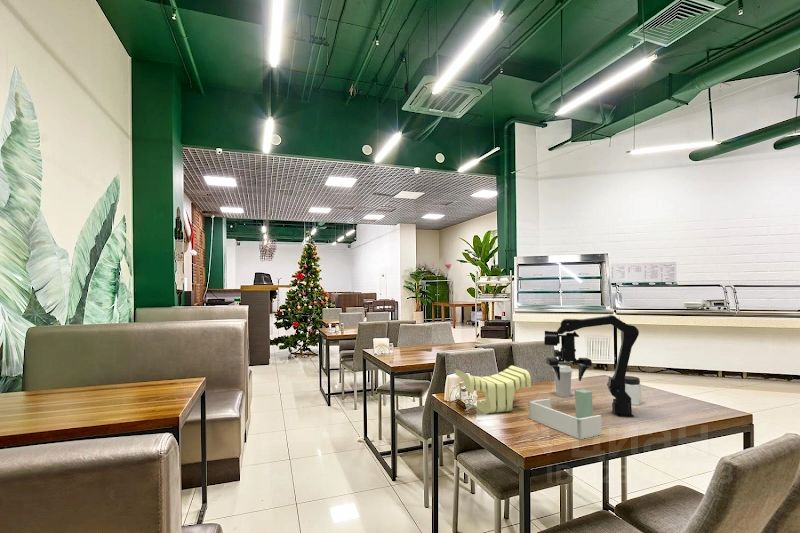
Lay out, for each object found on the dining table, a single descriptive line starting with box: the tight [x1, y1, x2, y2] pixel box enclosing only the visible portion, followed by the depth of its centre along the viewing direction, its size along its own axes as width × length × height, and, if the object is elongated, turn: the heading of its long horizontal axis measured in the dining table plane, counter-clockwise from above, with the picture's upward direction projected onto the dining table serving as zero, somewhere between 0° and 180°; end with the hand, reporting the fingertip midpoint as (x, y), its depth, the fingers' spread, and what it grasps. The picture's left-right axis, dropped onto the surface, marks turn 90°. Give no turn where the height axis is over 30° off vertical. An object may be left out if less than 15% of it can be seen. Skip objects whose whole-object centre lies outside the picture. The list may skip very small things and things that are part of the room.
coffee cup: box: [552, 364, 573, 399], centre depth 197 cm, size 10×10×15 cm
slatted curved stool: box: [455, 365, 532, 414], centre depth 176 cm, size 30×16×18 cm, turn 105°
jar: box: [625, 375, 643, 406], centre depth 184 cm, size 9×8×12 cm
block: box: [574, 389, 594, 419], centre depth 157 cm, size 4×4×12 cm
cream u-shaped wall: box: [528, 398, 603, 440], centre depth 152 cm, size 12×26×7 cm, turn 23°
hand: (569, 380), depth 174 cm, fingers open, 9 cm apart
